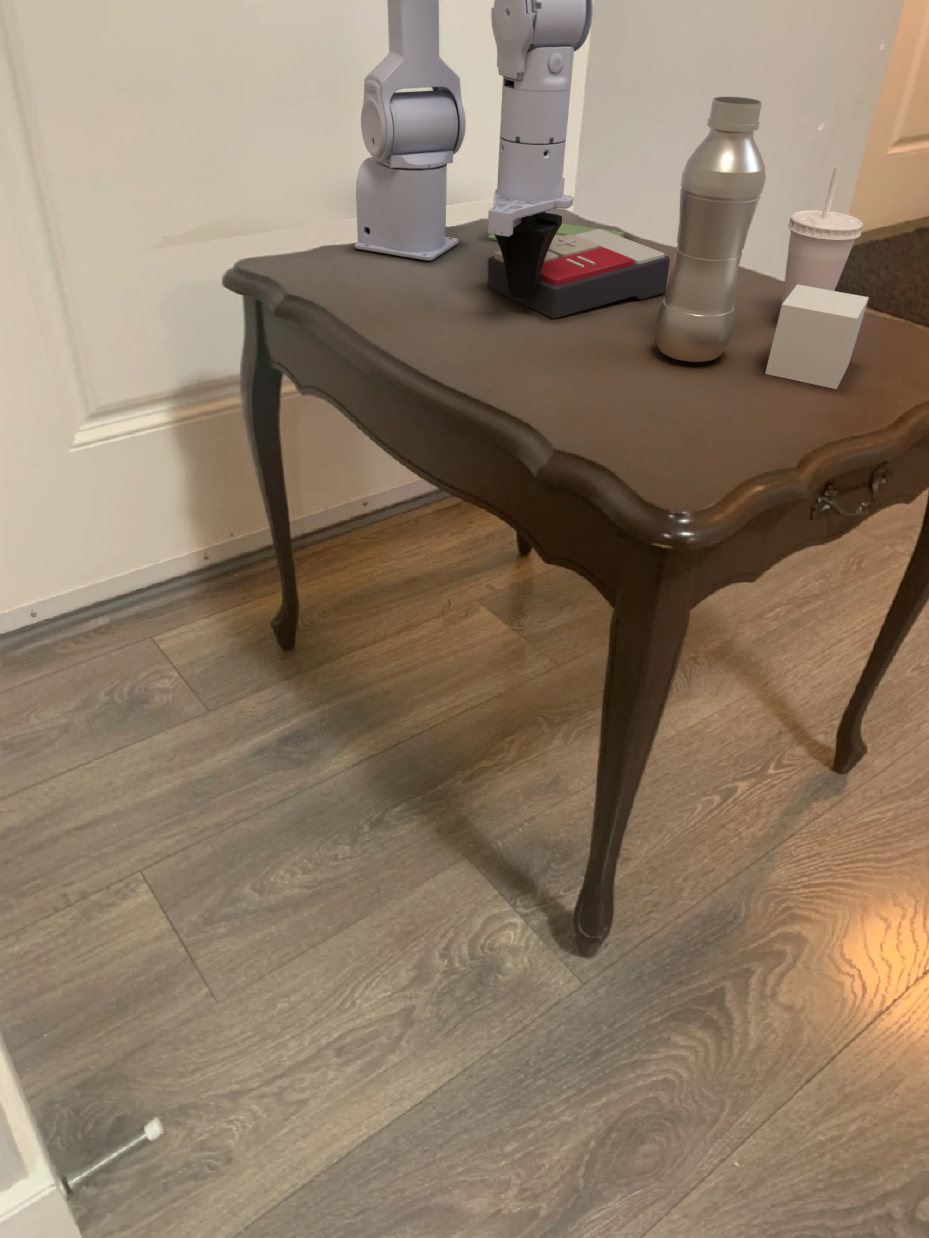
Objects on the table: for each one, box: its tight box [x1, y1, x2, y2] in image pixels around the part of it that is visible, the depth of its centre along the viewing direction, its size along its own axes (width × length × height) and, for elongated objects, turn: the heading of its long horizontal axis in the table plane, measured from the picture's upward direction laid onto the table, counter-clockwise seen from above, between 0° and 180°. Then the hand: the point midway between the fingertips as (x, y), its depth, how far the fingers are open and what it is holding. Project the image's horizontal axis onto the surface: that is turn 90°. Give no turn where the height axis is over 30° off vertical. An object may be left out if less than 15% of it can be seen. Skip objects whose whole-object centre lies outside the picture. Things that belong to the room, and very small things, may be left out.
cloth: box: [487, 222, 625, 241], centre depth 110 cm, size 14×9×1 cm, turn 67°
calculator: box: [487, 228, 671, 320], centre depth 94 cm, size 11×4×15 cm
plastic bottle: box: [654, 96, 766, 363], centre depth 76 cm, size 6×7×20 cm
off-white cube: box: [764, 284, 870, 390], centre depth 79 cm, size 6×6×6 cm
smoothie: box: [781, 166, 864, 305], centre depth 85 cm, size 6×6×14 cm
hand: (521, 296), depth 88 cm, fingers closed
